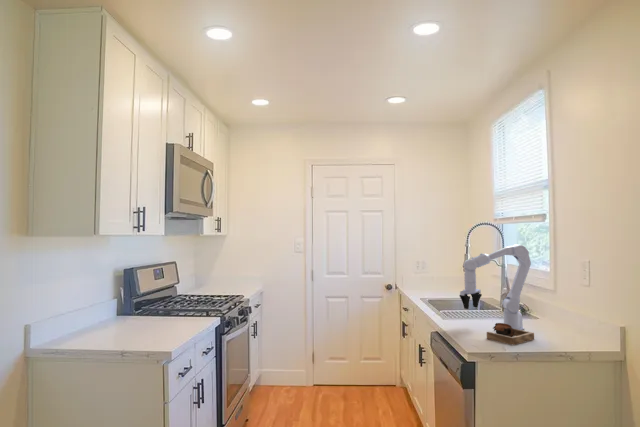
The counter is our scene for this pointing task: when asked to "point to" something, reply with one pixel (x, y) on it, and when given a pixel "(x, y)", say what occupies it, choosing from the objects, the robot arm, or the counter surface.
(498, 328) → the pottery mug
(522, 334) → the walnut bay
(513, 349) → the counter surface
